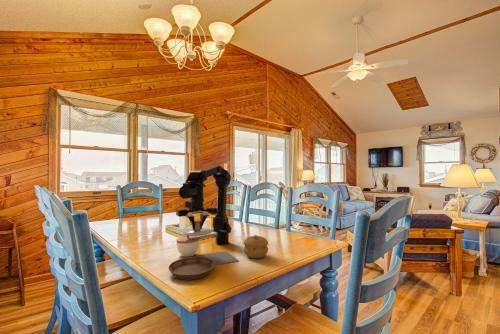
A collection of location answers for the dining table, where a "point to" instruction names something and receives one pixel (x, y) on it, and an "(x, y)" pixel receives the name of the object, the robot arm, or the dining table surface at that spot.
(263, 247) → the pot
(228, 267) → the dining table surface
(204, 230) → the lid
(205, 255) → the mat
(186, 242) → the lidded jar
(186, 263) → the plant saucer
